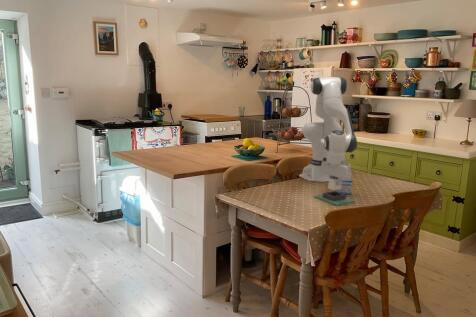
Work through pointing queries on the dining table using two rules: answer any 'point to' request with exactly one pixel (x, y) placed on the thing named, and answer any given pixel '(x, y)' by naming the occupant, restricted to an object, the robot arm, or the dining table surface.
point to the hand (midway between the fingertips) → (335, 184)
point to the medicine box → (345, 187)
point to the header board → (334, 198)
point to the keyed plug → (333, 183)
